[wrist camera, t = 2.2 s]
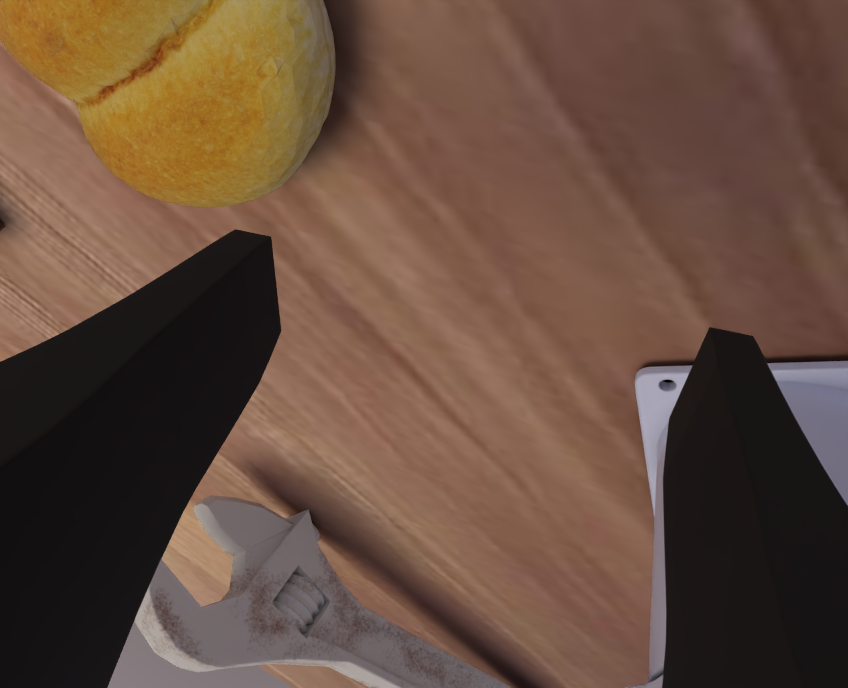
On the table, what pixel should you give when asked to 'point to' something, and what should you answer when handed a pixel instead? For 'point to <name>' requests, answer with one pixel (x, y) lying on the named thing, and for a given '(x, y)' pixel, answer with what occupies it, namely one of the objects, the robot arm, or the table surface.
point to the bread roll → (185, 87)
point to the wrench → (287, 611)
